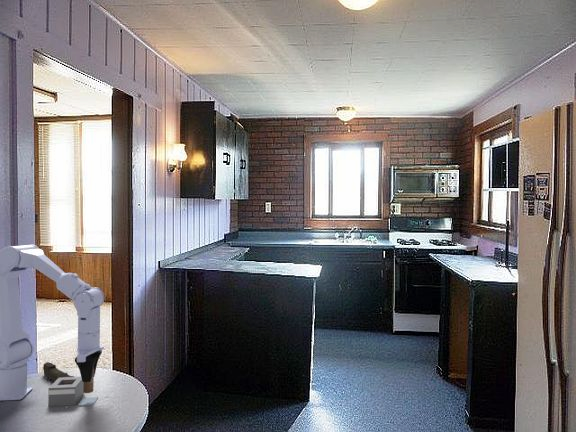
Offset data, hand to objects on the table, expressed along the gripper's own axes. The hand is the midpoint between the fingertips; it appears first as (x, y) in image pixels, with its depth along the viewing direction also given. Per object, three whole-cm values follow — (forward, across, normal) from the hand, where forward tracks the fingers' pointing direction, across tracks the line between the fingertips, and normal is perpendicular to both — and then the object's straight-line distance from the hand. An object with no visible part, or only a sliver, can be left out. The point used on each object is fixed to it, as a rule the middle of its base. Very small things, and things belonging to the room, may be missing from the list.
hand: (88, 379), depth 125 cm
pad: (+6, 0, 0) cm, 6 cm away
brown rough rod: (+7, +17, +15) cm, 23 cm away
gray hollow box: (+6, +2, +6) cm, 9 cm away
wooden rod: (+3, 0, 0) cm, 3 cm away
